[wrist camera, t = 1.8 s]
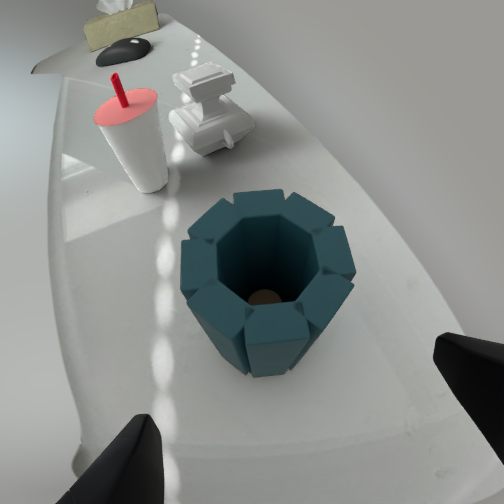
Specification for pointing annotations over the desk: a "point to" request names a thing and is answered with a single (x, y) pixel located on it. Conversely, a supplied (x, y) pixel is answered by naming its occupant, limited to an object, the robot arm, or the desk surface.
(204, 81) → the stamp
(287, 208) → the sleeve
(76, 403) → the desk surface
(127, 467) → the robot arm
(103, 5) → the tissue box
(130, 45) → the computer mouse
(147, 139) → the cup
